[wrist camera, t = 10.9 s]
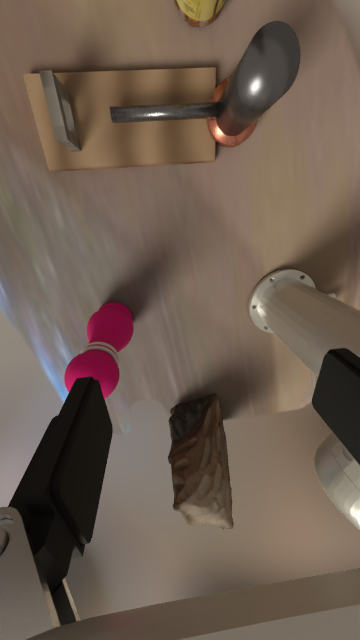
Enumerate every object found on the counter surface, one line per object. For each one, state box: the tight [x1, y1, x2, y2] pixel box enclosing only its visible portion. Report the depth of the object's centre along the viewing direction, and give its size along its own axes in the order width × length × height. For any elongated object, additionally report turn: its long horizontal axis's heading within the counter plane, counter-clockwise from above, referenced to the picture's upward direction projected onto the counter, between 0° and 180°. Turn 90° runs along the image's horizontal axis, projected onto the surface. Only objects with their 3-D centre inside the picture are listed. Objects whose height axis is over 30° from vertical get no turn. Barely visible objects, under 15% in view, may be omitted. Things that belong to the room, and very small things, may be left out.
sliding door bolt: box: [110, 21, 300, 147], centre depth 23 cm, size 18×6×11 cm, turn 94°
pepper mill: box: [65, 302, 133, 398], centre depth 31 cm, size 7×7×20 cm
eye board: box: [23, 67, 216, 172], centre depth 26 cm, size 22×9×6 cm, turn 93°
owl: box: [168, 393, 233, 529], centre depth 44 cm, size 13×13×20 cm
